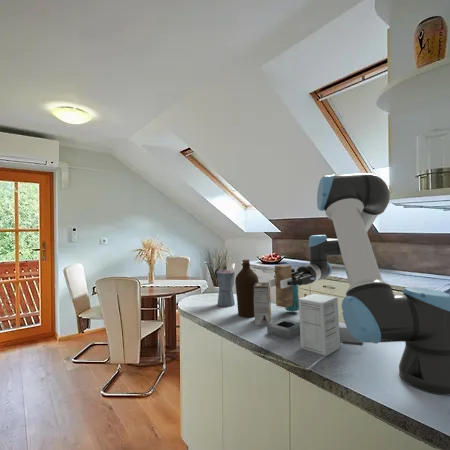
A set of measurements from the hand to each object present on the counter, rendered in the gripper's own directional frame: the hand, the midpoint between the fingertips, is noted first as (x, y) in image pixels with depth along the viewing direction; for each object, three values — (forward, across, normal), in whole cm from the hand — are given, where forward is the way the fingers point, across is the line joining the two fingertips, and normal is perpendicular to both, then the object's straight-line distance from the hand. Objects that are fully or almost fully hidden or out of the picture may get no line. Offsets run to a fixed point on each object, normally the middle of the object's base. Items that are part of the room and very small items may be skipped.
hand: (275, 283), depth 115 cm
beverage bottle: (-29, +12, -20) cm, 37 cm away
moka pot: (-22, +47, -19) cm, 55 cm away
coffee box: (-10, +14, -20) cm, 26 cm away
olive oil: (-16, +27, -20) cm, 37 cm away
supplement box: (0, -16, -20) cm, 26 cm away
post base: (-5, 0, -20) cm, 20 cm away
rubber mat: (-15, -18, -20) cm, 30 cm away
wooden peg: (-5, 0, -9) cm, 10 cm away
